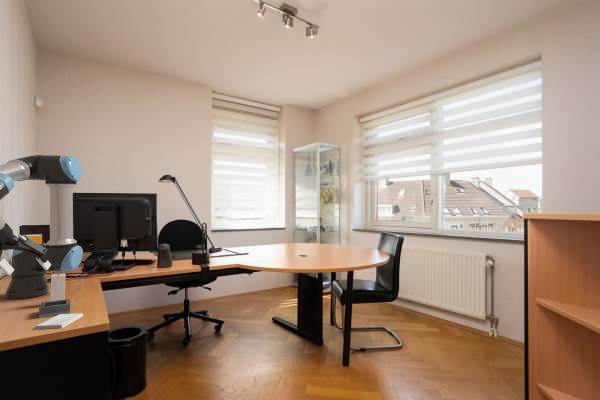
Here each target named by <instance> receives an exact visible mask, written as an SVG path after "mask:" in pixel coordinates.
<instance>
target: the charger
mask: <svg viewBox="0 0 600 400" xmlns="http://www.w3.org/2000/svg"><path fill="white" fill-rule="evenodd" d="M65 294H66V273H58V274H57V273H56V274H51V276H50V301H57V300H65V296H66V295H65Z"/></svg>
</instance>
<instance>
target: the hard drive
mask: <svg viewBox="0 0 600 400" xmlns="http://www.w3.org/2000/svg"><path fill="white" fill-rule="evenodd" d="M82 317H84V313H70V314H59V315H57V316H52V317H51V318H50V319H47V320H45V321H43V322H41V323H39V324H37V325H35V326H34V330H45V329H46V330H47V329H48V330H49V329H50V330H52V329H53V328H54V329H63V328H65V327H66V326H69V325H70V324H72V323H74V322H75V321H77V320H79V319H80V318H82Z"/></svg>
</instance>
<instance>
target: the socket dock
mask: <svg viewBox="0 0 600 400" xmlns="http://www.w3.org/2000/svg"><path fill="white" fill-rule="evenodd" d="M71 301H72V298H67V299H65V298H64V300H57V301H44V302H43V301H42V302H41V303H40V305H39V308H38V319H42V318H49V317H55V316H57V315H59V314H71Z"/></svg>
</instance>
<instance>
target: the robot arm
mask: <svg viewBox="0 0 600 400" xmlns="http://www.w3.org/2000/svg"><path fill="white" fill-rule="evenodd" d="M82 177H83V168H82V165H81V163H80V161H79V160H78V159H77V158H76V157H74V156H71V155H70V156H69V155H53V154H52V155H51V154H50V155H49V154H48V155H46V154H44V155H43V154H34V155H29V156H24V157H19V158H15V159H11V160H8V161H7V162H6V163H4V164H0V201H2V199H3V198H5V197H6V196H7V195H9V194H10V192H11V191H12V190H13V189H14V187H15V184H16V183H15V182H24V181H44V182H45V183H44V184H45V186H46V187H48V188H49V240H48V241H47V242H46V243H45V242H41V243H37V242H36V241H34V240H33V239H31V238H29V237H28V236H27V235H26V234H25V233H22V234H21V235H20V236H19V235H18V236H17V235H15V234H14V230H13V229H12V228H11V226H9V224H8V223H7V222H6V220H5V219H4V217H2V215H0V269H1V271H3V272H4V273H5V274H6V276H10V277H11V278H10V282H9V283H8V287H6V290H5V293H4V298H5V299H9V300H17V299H20V300H21V299H28V298H35V297H39V296H43V295H47V294H48V293H49V289H50V287H49V285H48V282H47V280H46V277H45V272H63V273H65V272H69V271H71V272H72V271H74V270H76V269H77V268H78V267H79V265H80V264H81V262H82V260H83V255H84V250H83V248H82V246H80V245H78V241H77V240H76V239H74V212H73V211H74V210H73V209H74V208H73V207H74V205H73V204H74V199H73V198H74V195H73V190H74V187H77V182H79V181H81V180H82ZM7 250H9V251H10V250H12V255H11V264H10V263H9V262H8V261H7V260H6V259H5V258H4V257H2V256H3V255H2V254H3V252H4V251H7Z"/></svg>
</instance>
